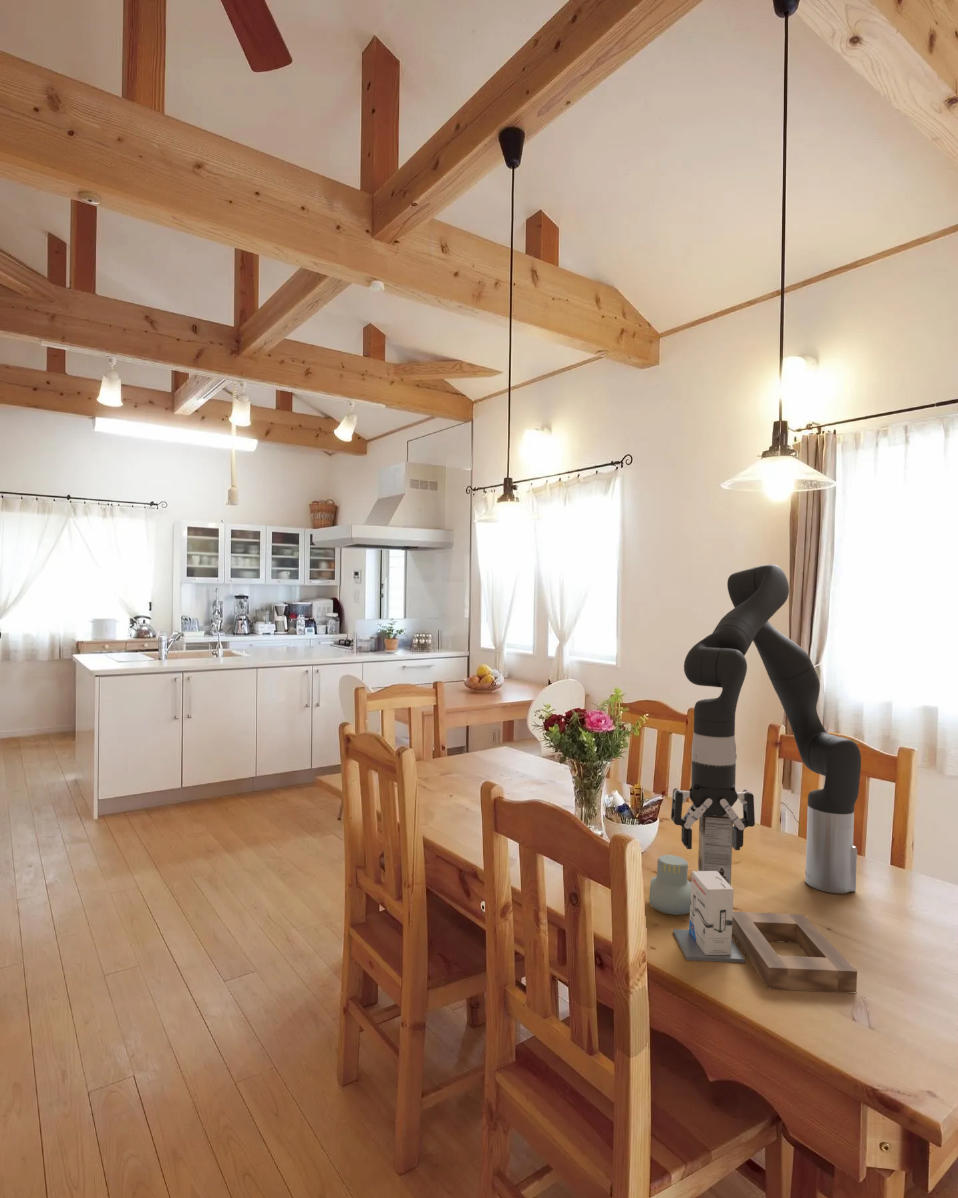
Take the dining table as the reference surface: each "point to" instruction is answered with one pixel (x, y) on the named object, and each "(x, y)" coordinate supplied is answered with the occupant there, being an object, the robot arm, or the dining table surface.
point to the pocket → (792, 972)
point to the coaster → (695, 952)
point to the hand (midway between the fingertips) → (711, 848)
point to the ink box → (711, 912)
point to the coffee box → (715, 845)
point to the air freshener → (671, 886)
